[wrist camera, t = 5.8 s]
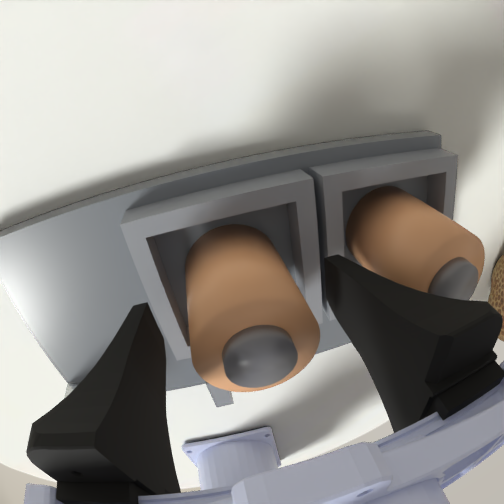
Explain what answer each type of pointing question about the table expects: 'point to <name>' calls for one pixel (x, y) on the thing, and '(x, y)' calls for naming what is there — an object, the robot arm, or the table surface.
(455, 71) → the table surface
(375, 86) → the table surface
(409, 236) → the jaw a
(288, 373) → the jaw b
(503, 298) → the natural sponge
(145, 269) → the housing
